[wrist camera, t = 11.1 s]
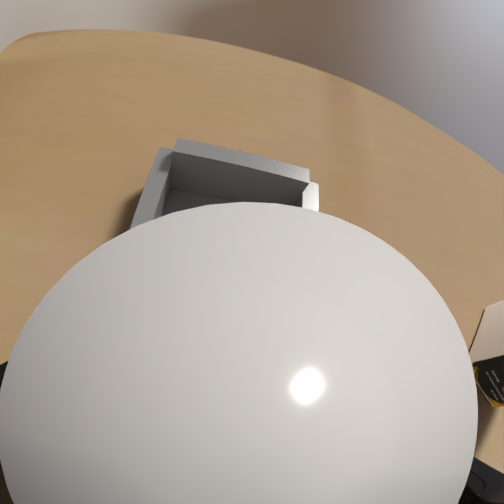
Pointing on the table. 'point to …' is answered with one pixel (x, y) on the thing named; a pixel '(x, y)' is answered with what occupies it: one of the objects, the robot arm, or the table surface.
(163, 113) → the table surface
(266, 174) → the tray
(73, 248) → the table surface
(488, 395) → the medicine bottle
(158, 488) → the dome-lidded peach canister
